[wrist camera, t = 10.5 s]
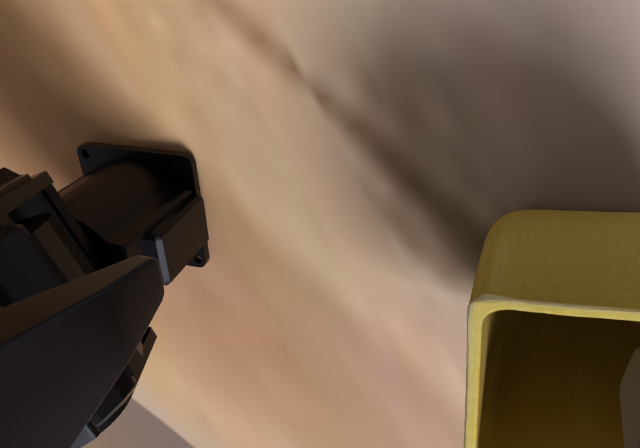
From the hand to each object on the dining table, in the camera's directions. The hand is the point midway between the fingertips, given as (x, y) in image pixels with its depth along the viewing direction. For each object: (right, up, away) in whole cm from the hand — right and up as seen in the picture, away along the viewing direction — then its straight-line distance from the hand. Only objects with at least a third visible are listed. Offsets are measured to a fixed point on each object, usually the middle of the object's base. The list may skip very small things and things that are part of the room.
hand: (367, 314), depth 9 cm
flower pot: (+10, 0, +13) cm, 16 cm away
